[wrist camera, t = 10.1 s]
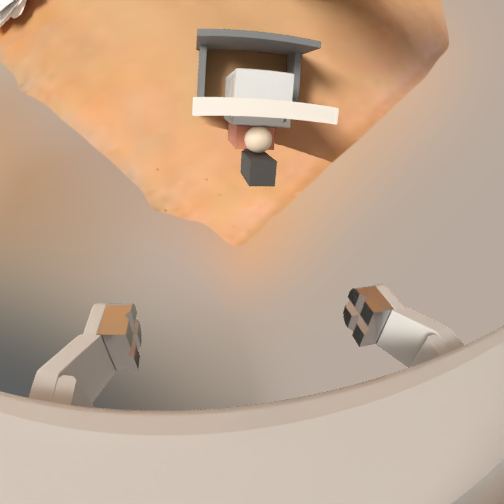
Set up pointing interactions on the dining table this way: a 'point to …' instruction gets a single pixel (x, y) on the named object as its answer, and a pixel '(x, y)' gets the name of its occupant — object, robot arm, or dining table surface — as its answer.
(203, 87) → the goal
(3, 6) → the lotus flower
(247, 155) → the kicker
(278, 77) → the supplement box
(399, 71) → the dining table surface
